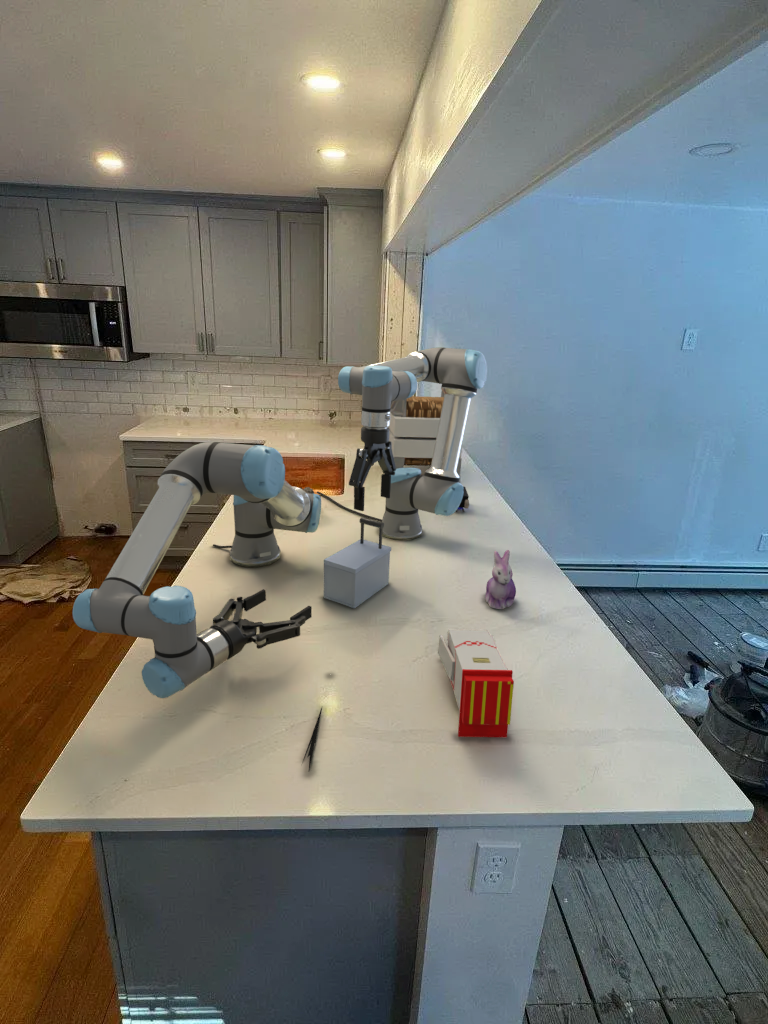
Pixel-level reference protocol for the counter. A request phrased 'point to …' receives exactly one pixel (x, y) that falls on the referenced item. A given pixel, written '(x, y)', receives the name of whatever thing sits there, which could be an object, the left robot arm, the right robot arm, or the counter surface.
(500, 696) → the toy
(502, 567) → the figurine
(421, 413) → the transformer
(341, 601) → the chest
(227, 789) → the counter surface
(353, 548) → the lid
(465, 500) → the figurine character
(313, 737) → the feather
